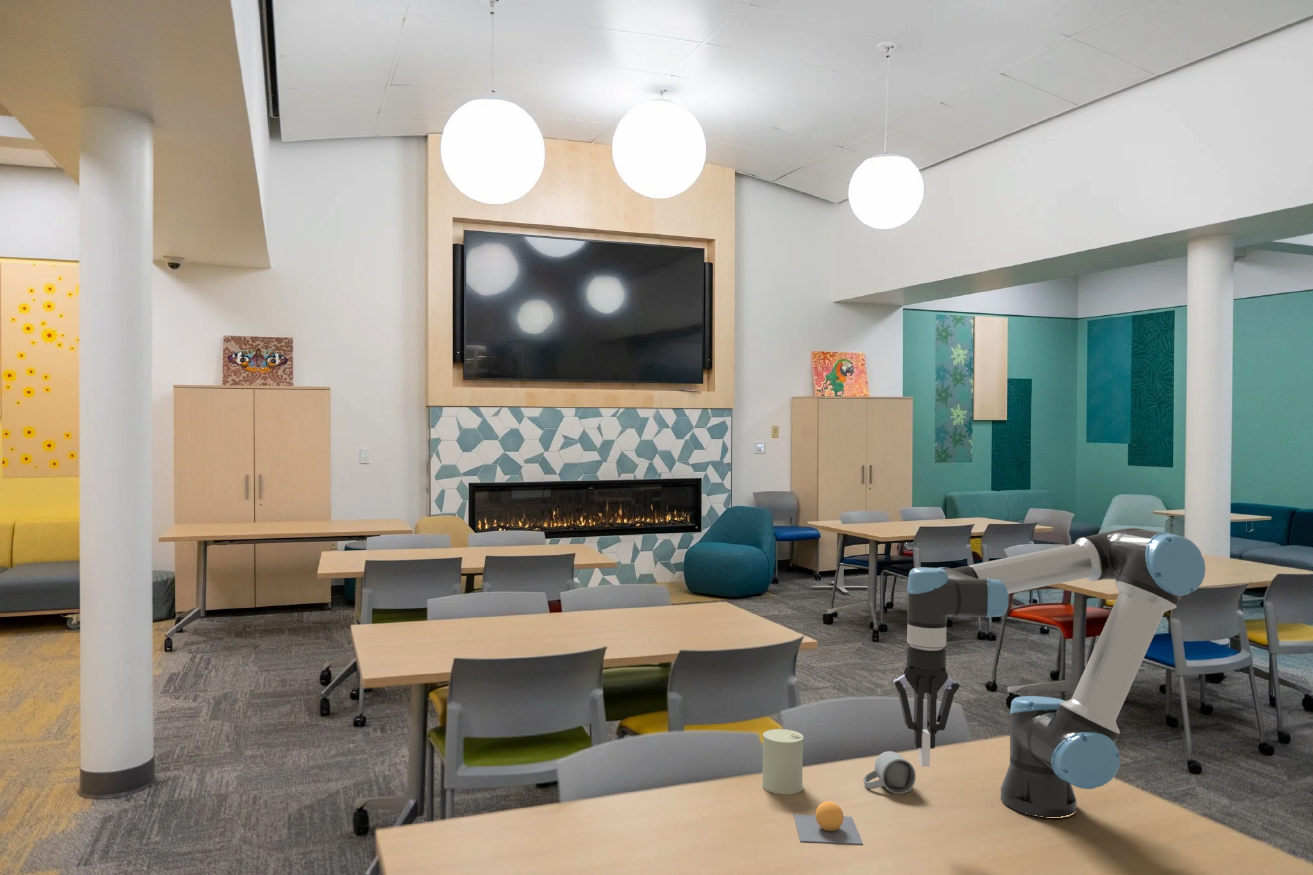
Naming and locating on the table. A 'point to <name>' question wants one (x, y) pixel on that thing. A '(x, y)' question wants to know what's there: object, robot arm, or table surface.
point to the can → (782, 761)
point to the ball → (829, 816)
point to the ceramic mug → (891, 773)
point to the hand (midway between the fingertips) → (924, 763)
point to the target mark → (815, 833)
